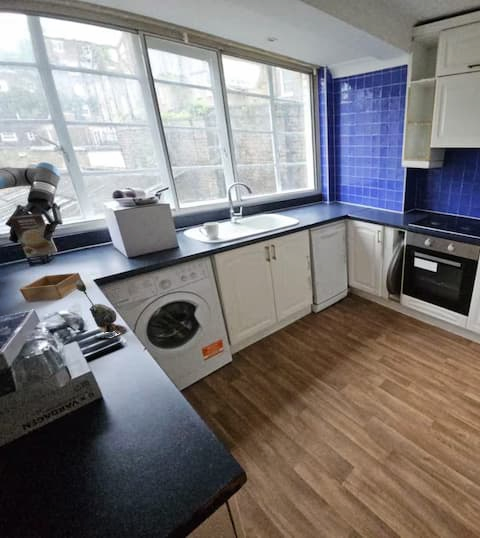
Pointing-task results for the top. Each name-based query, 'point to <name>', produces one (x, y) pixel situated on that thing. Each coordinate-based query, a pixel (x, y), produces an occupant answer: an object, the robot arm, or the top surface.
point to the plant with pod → (102, 314)
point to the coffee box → (32, 235)
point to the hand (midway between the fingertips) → (30, 240)
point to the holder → (42, 259)
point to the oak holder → (50, 287)
